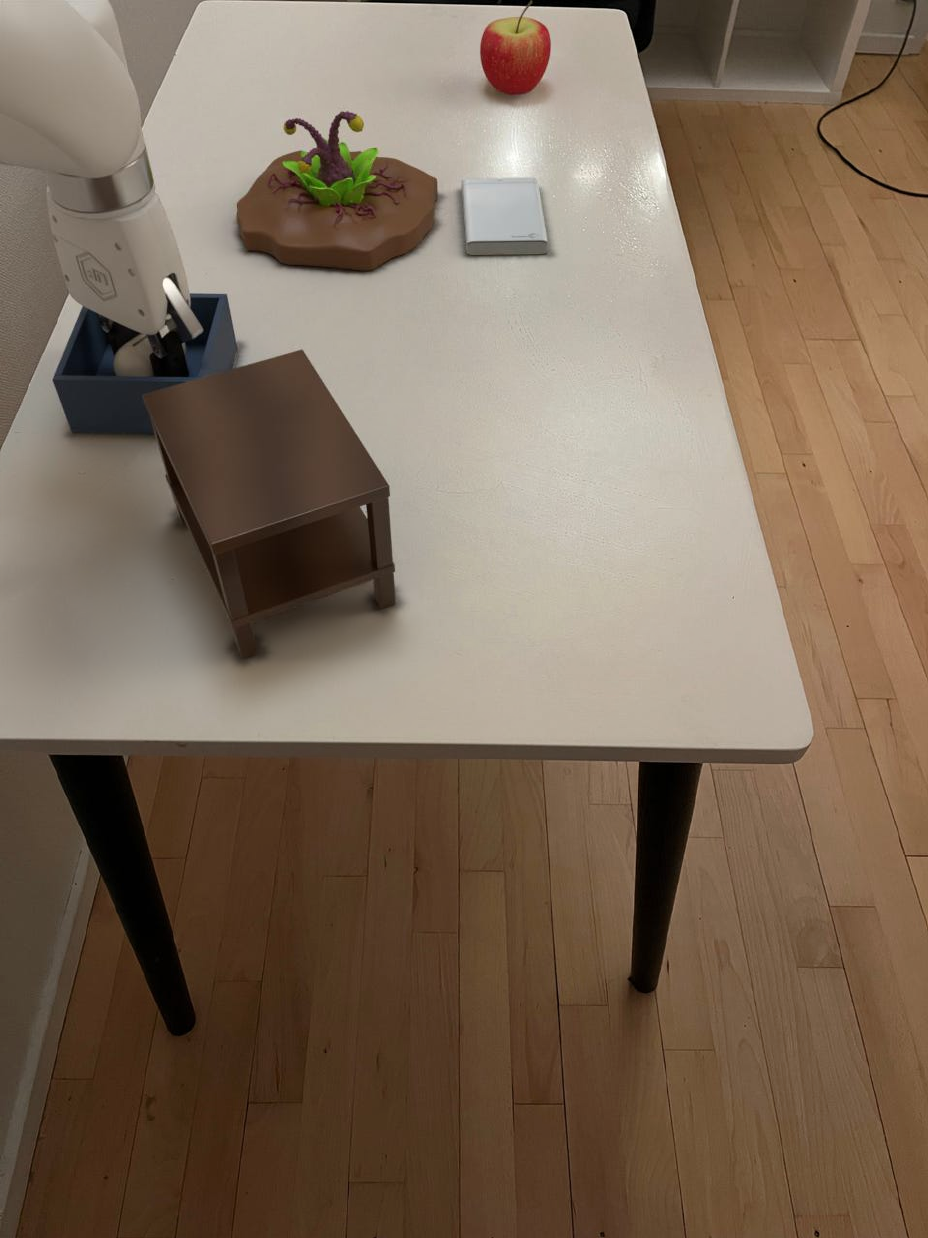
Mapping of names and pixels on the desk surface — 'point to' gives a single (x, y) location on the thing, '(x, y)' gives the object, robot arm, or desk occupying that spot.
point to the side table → (273, 489)
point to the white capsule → (137, 357)
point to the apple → (515, 53)
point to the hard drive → (503, 216)
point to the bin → (117, 400)
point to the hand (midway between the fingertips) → (154, 373)
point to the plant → (336, 204)
